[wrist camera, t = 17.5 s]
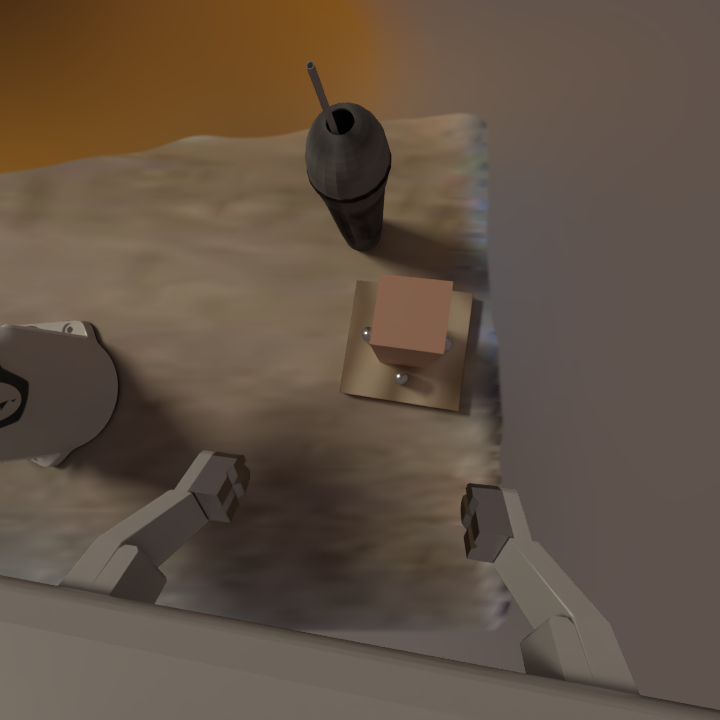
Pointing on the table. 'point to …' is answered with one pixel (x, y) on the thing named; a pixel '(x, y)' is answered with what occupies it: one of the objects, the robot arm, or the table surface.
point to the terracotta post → (410, 320)
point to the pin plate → (399, 381)
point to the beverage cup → (349, 167)
